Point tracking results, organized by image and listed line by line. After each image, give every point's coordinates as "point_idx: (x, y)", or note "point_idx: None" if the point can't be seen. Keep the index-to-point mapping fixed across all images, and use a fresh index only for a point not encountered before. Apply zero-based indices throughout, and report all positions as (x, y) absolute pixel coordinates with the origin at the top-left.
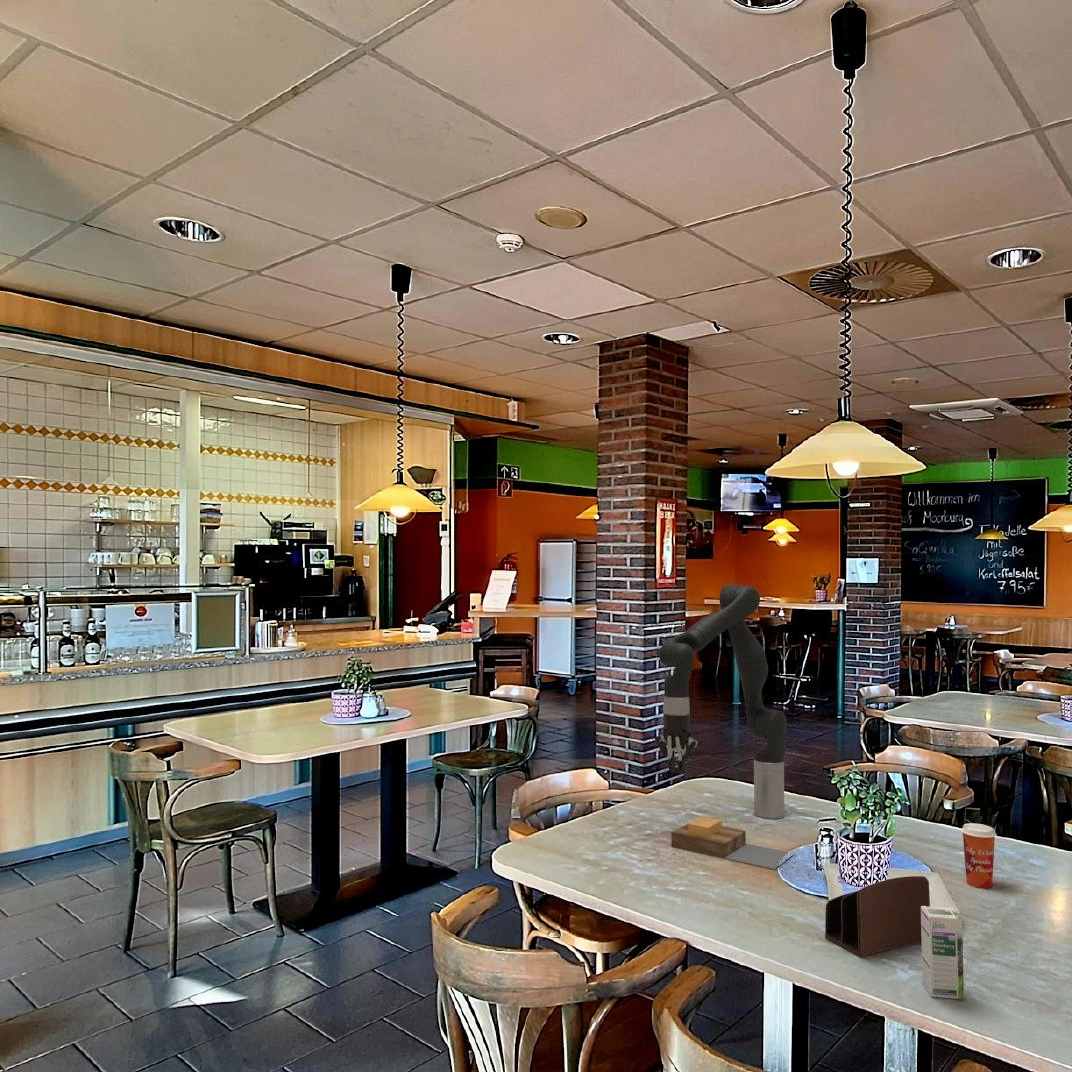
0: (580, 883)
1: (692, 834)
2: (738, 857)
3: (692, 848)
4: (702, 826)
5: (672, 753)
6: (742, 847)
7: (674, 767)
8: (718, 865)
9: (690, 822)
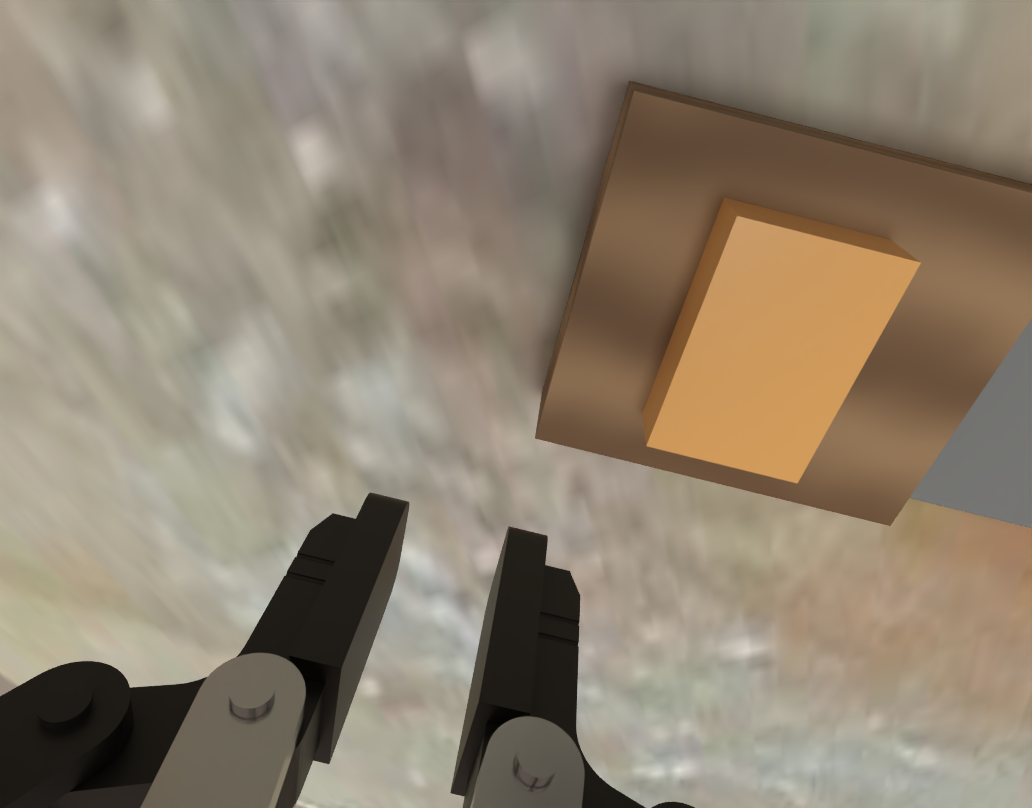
0: (366, 794)
1: None
2: (944, 460)
3: None
4: (754, 471)
5: (226, 776)
6: None
7: (388, 567)
8: (821, 560)
9: (615, 159)
